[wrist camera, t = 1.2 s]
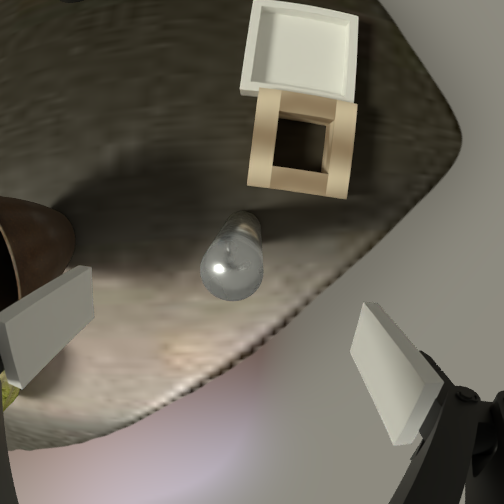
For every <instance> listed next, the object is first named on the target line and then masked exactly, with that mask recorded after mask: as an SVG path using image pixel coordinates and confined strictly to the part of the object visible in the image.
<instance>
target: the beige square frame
mask: <svg viewBox="0 0 504 504" xmlns="http://www.w3.org/2000/svg"><path fill="white" fill-rule="evenodd" d="M357 105H358V104H354V103H350V102H345V101H341V100H336V99H331V98H326V97H320V96H315V95H309V94H303V93H297V92H290V91H284V90H276V89H268V88H260V87H259V93H258V101H257V108H256V116H255V124H254V132H253V140H252V148H251V156H250V164H249V172H248V181H247V185H248V186H256V187H264V188H272V189H280V190H287V191H294V192H301V193H308V194H315V195H321V196H328V197H334V198H340V199H347V192H348V185H349V178H350V170H351V163H352V154H353V146H354V137H355V127H356V116H357ZM278 118H282V119H289V120H295V121H302V122H308V123H314V124H319V125H325V126H326V135H325V144H324V152H323V160H322V168H321V173H318V172H311V171H305V170H298V169H291V168H284V167H277V166H272V164H273V156H274V148H275V140H276V132H277V124H278Z"/></svg>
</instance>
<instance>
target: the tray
mask: <svg viewBox="0 0 504 504" xmlns="http://www.w3.org/2000/svg"><path fill="white" fill-rule="evenodd" d="M357 43H358V16H355V15H351V14H347V13H343V12H338V11H334V10H329V9H324V8H319V7H314V6H308V5H302V4H296V3H289V2H282V1H273V0H253V5H252V12H251V18H250V24H249V30H248V37H247V43H246V50H245V56H244V63H243V70H242V77H241V84H240V93H241V95H246V96H256V97H258V93H259V87H260V88H268V89H276V90H284V91H290V92H297V93H303V94H309V95H315V96H320V97H326V98H331V99H336V100H341V101H345V102H350V103H354V93H355V80H356V64H357Z"/></svg>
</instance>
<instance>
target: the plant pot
mask: <svg viewBox="0 0 504 504" xmlns="http://www.w3.org/2000/svg"><path fill="white" fill-rule="evenodd" d="M74 250H75V233H74V230H73V227H72V225H71V223H70V221H69V220H68V219H67V218H66V217H65V216H64V215H63V214H62V213H60V212H58V211H56V210H54V209H51V208H49V207H46V206H43V205H40V204H37V203H34V202H30V201H26V200H21V199H16V198H9V197H2V196H0V311H2V310H3V309H5V308H7V307H8V306H10V305H11V304H13V303H15V302H17V301H19V300H20V299H22V298H24V297H25V296H27V295H28V294H30V293H32V292H33V291H35V290H37V289H38V288H40V287H42V286H43V285H45V284H47V283H49V282H50V281H52V280H54V279H55V278H57V277H59V276H61V275H62V274H63V272H64V270H65V269H66V267H67V265H68V263H69V261H70V259H71V257H72V255H73V253H74Z"/></svg>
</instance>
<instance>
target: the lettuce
mask: <svg viewBox="0 0 504 504" xmlns="http://www.w3.org/2000/svg"><path fill="white" fill-rule="evenodd" d="M0 380H1V383H2V403H3V411H4V410H5V409H6V408H7V407H8V406H9V405H10V404H11V403H12V402H13V401H14V400H15V399H16V397H17V396H18V394H19V390H20V388H18V387H15V386H13V385H11V384H9V383H8V380H7V377H6V374H5V371H3V372H2V373H1V374H0Z"/></svg>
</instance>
